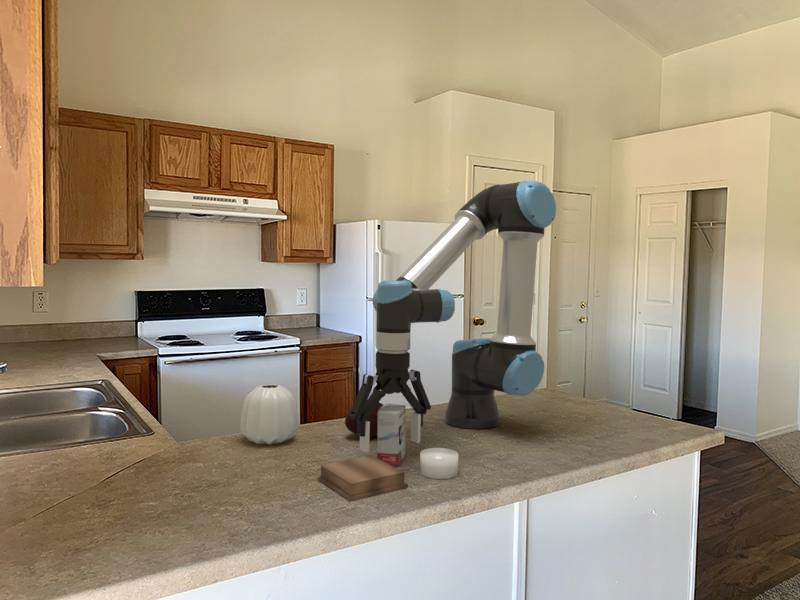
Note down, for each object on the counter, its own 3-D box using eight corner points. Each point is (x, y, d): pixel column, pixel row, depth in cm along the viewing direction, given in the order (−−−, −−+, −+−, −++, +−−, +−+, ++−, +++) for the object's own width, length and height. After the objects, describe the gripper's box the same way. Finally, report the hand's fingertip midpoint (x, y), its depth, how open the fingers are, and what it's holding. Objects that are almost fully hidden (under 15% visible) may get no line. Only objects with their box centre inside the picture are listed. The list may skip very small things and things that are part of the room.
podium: (372, 468, 131) (372, 454, 131) (407, 487, 120) (408, 472, 120) (317, 479, 124) (317, 465, 123) (350, 501, 113) (350, 485, 113)
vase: (293, 430, 159) (293, 379, 158) (302, 446, 146) (302, 390, 145) (238, 434, 154) (238, 381, 154) (242, 451, 141) (242, 393, 140)
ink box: (398, 467, 132) (398, 413, 131) (375, 465, 133) (376, 411, 132) (405, 454, 141) (406, 404, 140) (384, 453, 141) (385, 402, 141)
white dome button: (441, 463, 135) (442, 445, 135) (465, 474, 128) (466, 455, 128) (412, 470, 130) (412, 451, 130) (435, 481, 124) (436, 462, 123)
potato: (396, 439, 152) (396, 402, 152) (349, 443, 148) (349, 405, 148) (384, 430, 161) (385, 395, 160) (340, 434, 156) (340, 398, 156)
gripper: (427, 345, 145) (425, 434, 147) (334, 352, 131) (332, 450, 132) (447, 349, 139) (445, 442, 140) (352, 356, 125) (350, 459, 126)
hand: (390, 446), depth 136 cm, fingers open, 13 cm apart
